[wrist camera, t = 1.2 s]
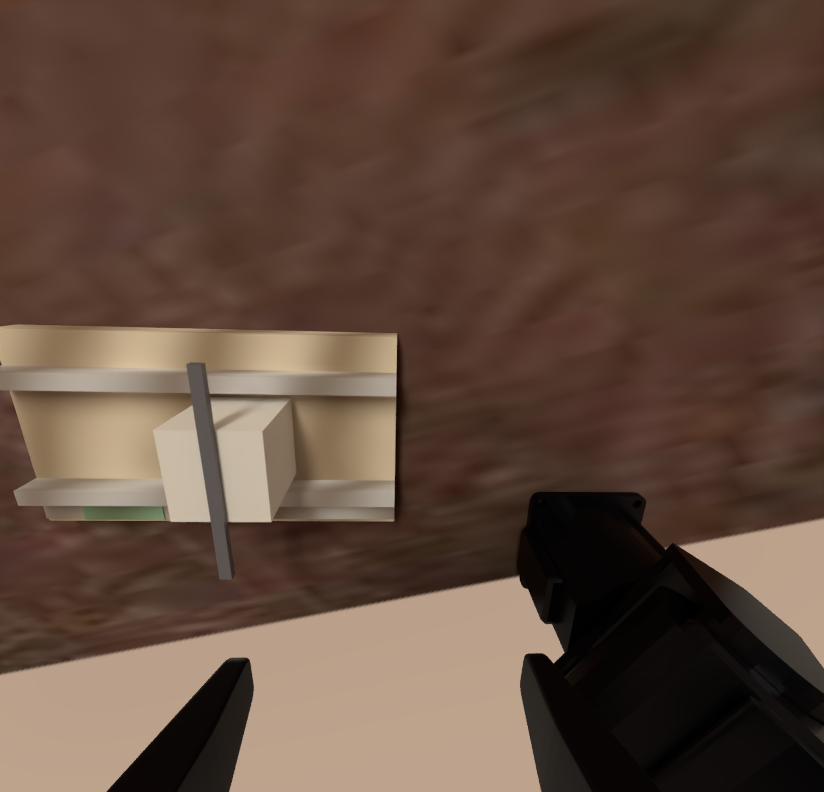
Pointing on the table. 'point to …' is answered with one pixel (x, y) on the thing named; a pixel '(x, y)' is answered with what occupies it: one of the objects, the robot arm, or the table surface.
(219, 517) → the tuning slider
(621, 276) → the table surface
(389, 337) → the board
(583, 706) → the robot arm
